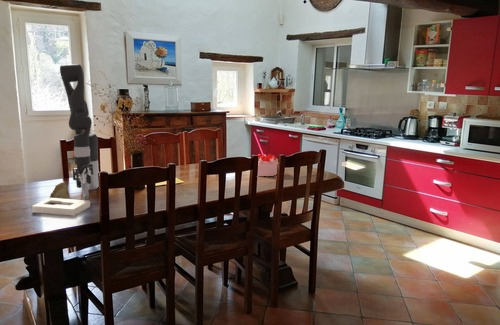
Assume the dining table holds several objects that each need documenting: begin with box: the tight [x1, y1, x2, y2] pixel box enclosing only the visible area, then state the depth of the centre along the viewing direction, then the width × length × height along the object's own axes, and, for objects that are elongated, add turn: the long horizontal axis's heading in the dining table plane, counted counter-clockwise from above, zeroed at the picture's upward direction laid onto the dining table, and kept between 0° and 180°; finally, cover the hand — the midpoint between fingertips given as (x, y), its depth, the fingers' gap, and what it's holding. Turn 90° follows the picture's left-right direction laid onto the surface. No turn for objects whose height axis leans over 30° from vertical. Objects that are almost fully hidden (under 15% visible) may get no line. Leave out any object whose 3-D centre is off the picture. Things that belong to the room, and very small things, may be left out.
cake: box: [257, 153, 279, 177], centre depth 277 cm, size 20×20×14 cm
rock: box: [49, 182, 70, 199], centre depth 207 cm, size 11×9×10 cm
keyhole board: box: [31, 197, 91, 217], centre depth 191 cm, size 14×22×4 cm, turn 81°
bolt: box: [81, 181, 92, 206], centre depth 199 cm, size 5×5×12 cm
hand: (84, 185), depth 198 cm, fingers open, 8 cm apart
